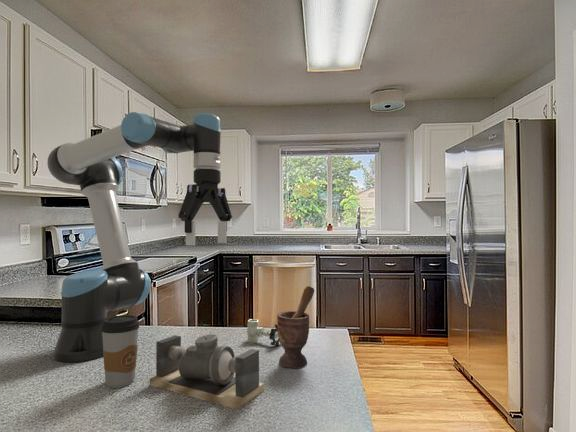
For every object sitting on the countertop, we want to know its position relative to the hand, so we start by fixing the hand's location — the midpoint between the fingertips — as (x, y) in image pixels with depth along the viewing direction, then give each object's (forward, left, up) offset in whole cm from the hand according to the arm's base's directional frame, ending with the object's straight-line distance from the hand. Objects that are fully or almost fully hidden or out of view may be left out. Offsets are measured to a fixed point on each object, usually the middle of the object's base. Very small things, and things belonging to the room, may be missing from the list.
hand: (207, 244), depth 108 cm
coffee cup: (-7, -23, -32) cm, 40 cm away
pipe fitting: (+13, -16, -30) cm, 37 cm away
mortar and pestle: (+24, +8, -32) cm, 41 cm away
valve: (+7, +18, -32) cm, 38 cm away
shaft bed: (+13, -16, -32) cm, 38 cm away
